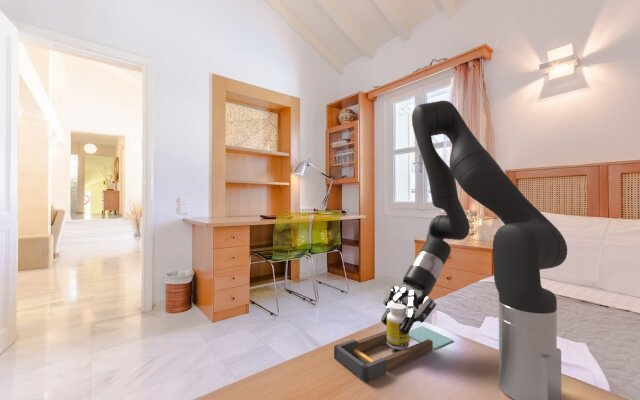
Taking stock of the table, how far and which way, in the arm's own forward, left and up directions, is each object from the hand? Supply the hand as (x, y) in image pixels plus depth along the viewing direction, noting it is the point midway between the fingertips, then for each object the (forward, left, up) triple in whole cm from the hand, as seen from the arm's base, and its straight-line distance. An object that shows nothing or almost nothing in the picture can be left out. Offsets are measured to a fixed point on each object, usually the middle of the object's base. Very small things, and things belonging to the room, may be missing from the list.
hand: (392, 327), depth 73 cm
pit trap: (0, +11, -6) cm, 12 cm away
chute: (0, -1, -6) cm, 6 cm away
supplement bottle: (0, -2, -5) cm, 5 cm away
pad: (0, -14, -6) cm, 15 cm away
